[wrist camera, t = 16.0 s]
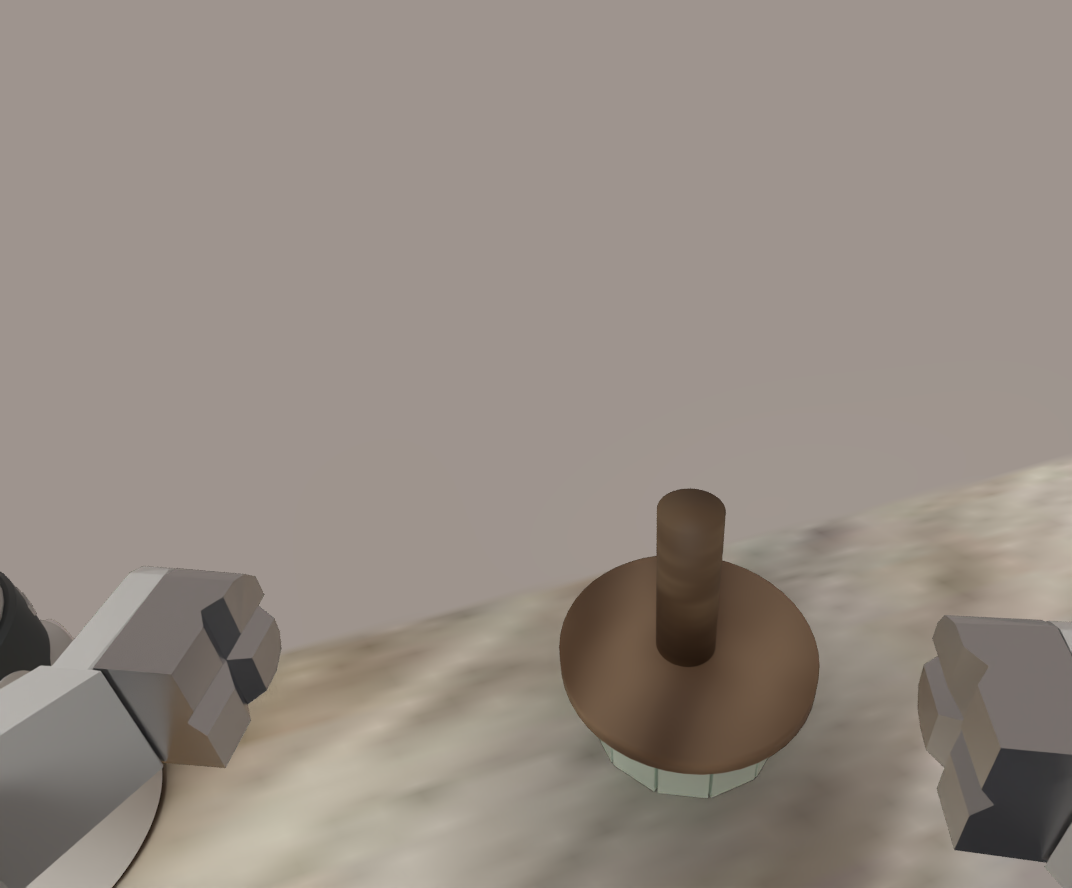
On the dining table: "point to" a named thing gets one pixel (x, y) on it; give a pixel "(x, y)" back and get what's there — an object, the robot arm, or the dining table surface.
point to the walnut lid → (689, 652)
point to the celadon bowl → (682, 777)
